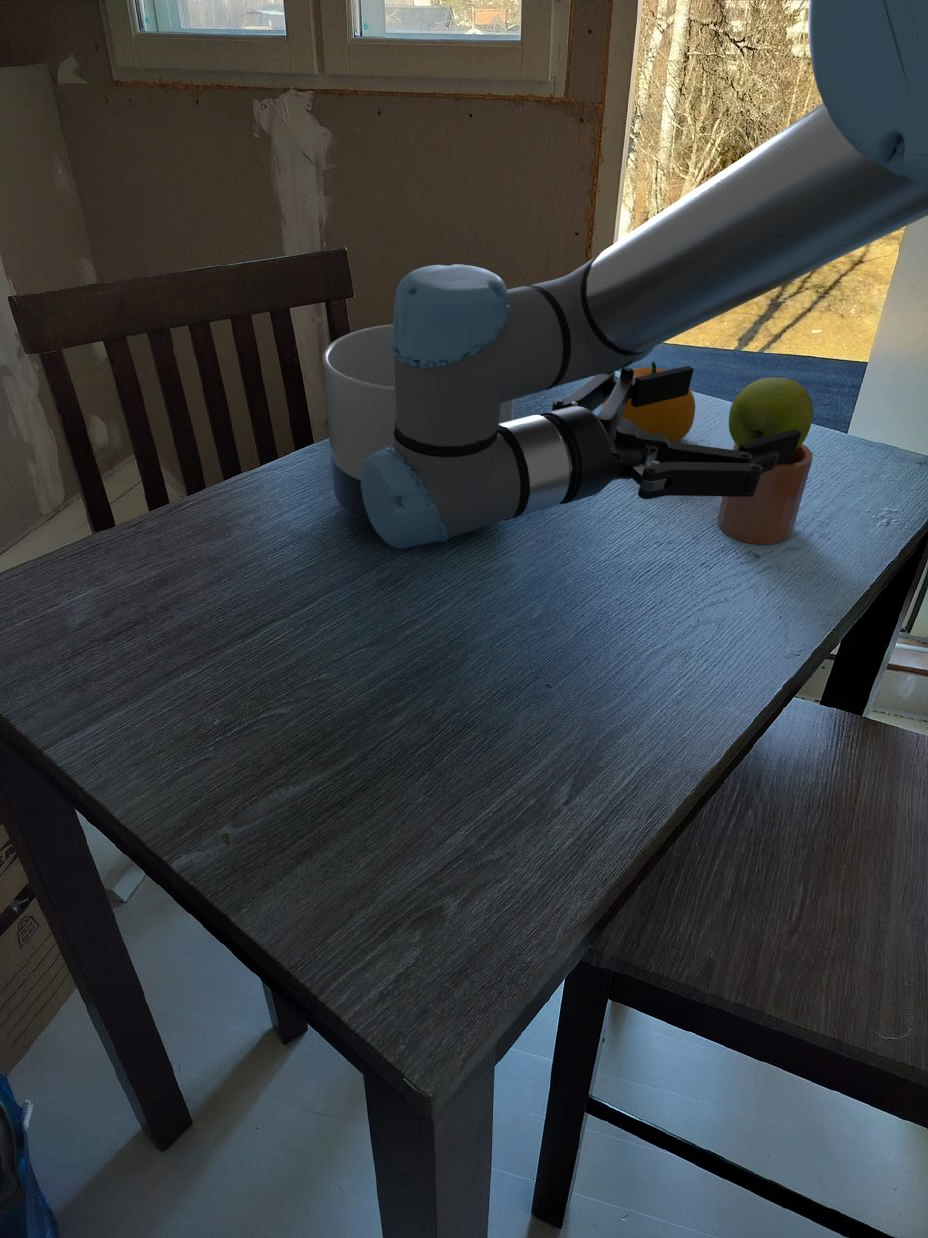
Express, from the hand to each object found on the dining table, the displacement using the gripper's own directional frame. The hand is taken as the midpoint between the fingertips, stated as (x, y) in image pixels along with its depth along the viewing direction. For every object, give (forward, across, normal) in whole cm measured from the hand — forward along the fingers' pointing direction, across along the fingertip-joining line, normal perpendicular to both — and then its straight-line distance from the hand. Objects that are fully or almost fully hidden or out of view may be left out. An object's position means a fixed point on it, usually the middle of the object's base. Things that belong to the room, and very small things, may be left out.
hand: (738, 410), depth 78 cm
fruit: (+13, -24, -18) cm, 33 cm away
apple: (+9, -2, -8) cm, 12 cm away
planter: (-20, -22, -18) cm, 35 cm away
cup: (+9, -1, -16) cm, 19 cm away
